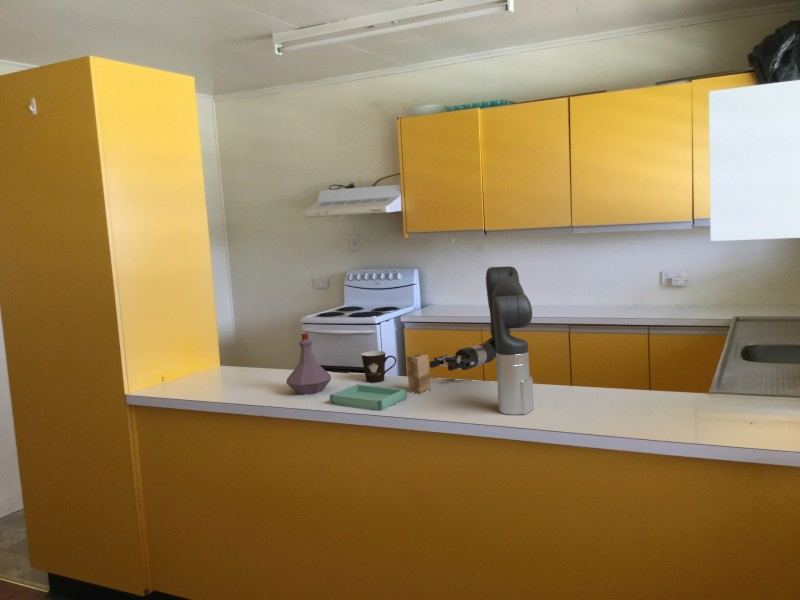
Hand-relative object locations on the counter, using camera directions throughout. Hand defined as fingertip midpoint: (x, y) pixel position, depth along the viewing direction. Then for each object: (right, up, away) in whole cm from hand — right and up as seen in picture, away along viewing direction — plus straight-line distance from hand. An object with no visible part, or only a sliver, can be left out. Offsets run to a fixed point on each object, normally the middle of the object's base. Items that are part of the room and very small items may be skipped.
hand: (439, 366), depth 229 cm
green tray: (-23, -10, -14) cm, 29 cm away
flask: (-45, -9, +5) cm, 46 cm away
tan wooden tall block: (-7, -8, -6) cm, 12 cm away
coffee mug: (-21, -7, +12) cm, 25 cm away
